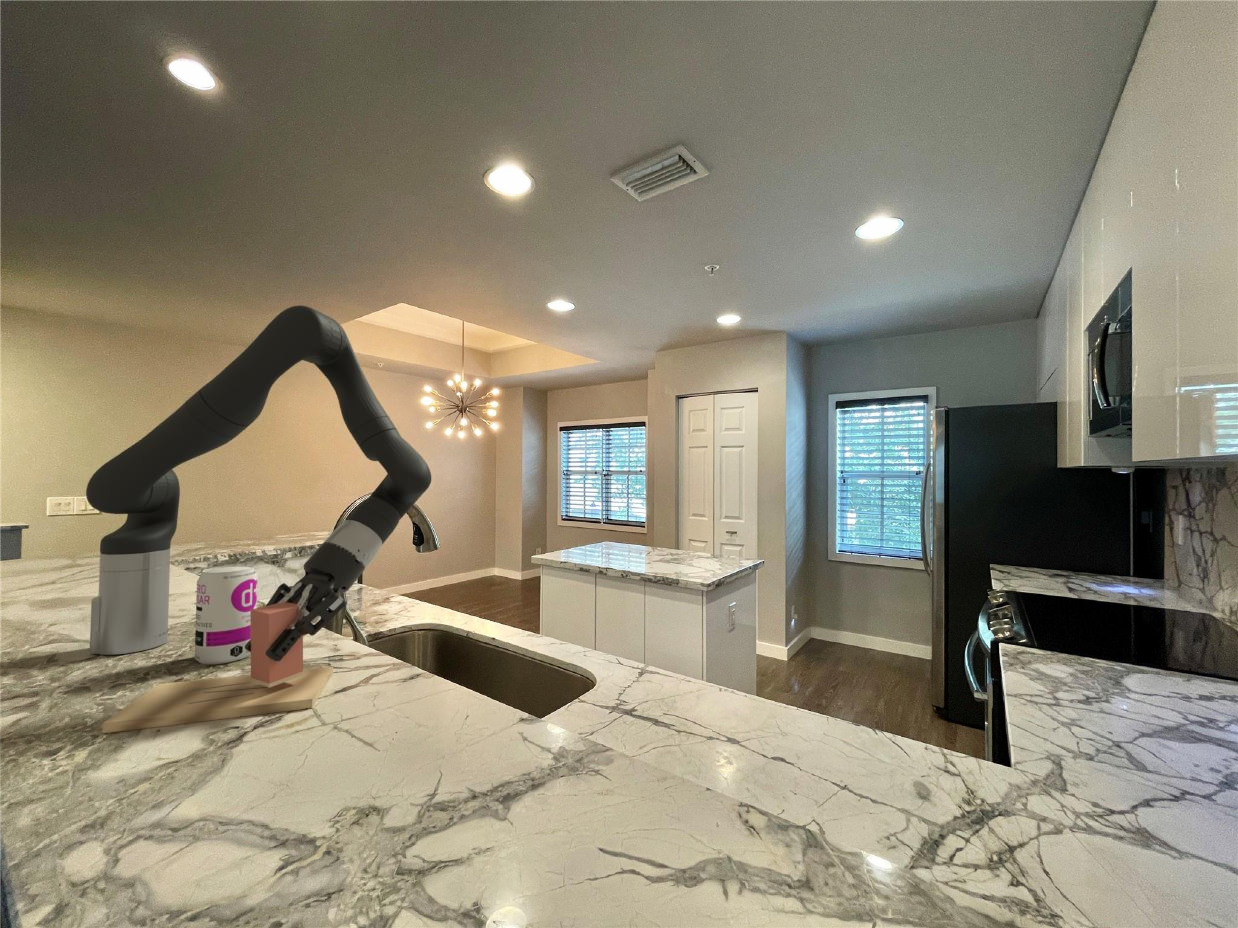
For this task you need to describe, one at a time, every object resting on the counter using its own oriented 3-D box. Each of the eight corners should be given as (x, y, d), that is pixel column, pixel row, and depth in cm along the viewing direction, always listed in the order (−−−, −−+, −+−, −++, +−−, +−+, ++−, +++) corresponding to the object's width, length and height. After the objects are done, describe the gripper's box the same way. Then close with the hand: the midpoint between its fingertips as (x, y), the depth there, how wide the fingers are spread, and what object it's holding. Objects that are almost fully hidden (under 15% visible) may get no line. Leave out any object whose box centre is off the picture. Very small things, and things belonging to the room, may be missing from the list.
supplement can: (267, 649, 89) (269, 565, 90) (226, 667, 81) (229, 573, 82) (225, 648, 90) (227, 564, 91) (181, 664, 82) (183, 572, 82)
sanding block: (269, 687, 68) (268, 613, 68) (250, 681, 70) (249, 609, 70) (303, 674, 72) (303, 605, 72) (284, 669, 74) (284, 601, 74)
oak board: (102, 733, 60) (102, 722, 60) (158, 692, 71) (158, 683, 71) (312, 707, 67) (312, 698, 67) (332, 674, 78) (332, 666, 78)
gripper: (301, 537, 81) (211, 633, 70) (359, 543, 75) (270, 649, 64) (332, 565, 86) (252, 659, 75) (389, 573, 79) (311, 677, 68)
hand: (261, 654), depth 69 cm, fingers closed on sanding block, 4 cm apart
